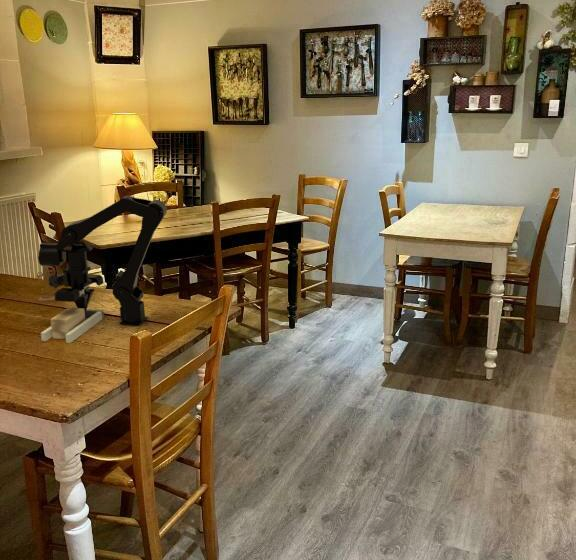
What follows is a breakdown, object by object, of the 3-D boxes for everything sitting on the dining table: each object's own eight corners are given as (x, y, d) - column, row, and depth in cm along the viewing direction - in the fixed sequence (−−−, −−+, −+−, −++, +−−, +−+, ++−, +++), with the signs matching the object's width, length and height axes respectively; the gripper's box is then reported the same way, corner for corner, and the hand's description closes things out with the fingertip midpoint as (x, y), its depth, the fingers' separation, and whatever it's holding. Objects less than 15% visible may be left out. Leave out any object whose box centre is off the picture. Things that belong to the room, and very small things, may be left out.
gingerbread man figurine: (67, 297, 204) (63, 264, 200) (66, 300, 200) (62, 267, 197) (40, 299, 202) (35, 265, 198) (38, 302, 198) (33, 268, 195)
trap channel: (104, 317, 185) (103, 310, 184) (70, 343, 166) (69, 335, 165) (78, 316, 186) (77, 308, 185) (41, 340, 167) (40, 332, 166)
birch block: (86, 327, 178) (84, 308, 176) (68, 339, 168) (66, 320, 167) (71, 325, 179) (68, 307, 177) (52, 338, 169) (50, 319, 168)
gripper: (69, 255, 186) (74, 302, 190) (34, 272, 168) (41, 323, 173) (101, 257, 184) (106, 304, 188) (70, 274, 166) (76, 325, 171)
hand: (82, 313), depth 180 cm, fingers closed
